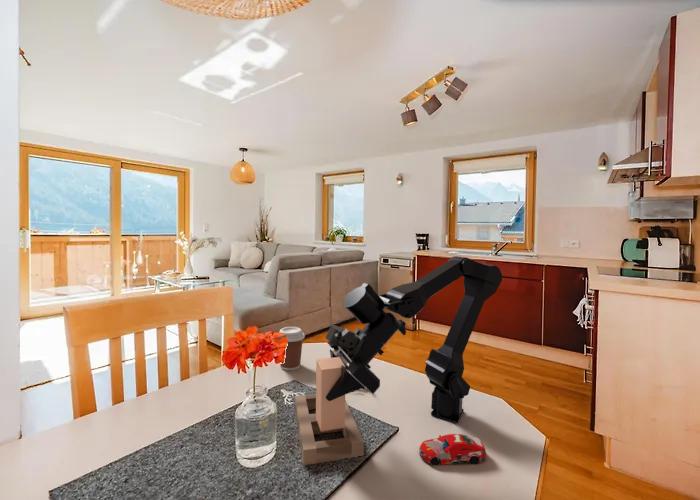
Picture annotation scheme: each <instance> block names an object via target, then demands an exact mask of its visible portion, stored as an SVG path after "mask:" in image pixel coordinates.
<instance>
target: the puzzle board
mask: <svg viewBox="0 0 700 500" xmlns="http://www.w3.org/2000/svg"><path fill="white" fill-rule="evenodd" d="M313 409H314V410H313ZM315 409H316V393H311V394H310V393H309V394H301V395H295V396H294V412H295V417H296V423H297V424H296V425H297V433H298V438H299V446H300V451H301V458H302V459H301V460H302V465H303V466H306V465H313V464H315V465H316V464H320V463H327V462H333V461H340V459H342V460H346V459H345V458H349V459H352V458H351V457H355V458H357V457H356V456H362V457H364V456H365V454H364V453H365V451H364V450H365V441H364V439H363V436H362V435H361V432H360V430H359V427H358V425H357V423H356V420H355V418H354V416H353V413H352V412H351V410H350V407H349V405H348V402H347V400H346V399H345V428H339V429H333V430H328V431H322V432H321V430H320V428H319V425H318V422H317V419H316V413H309V411H316V410H315ZM339 432H341V433H342V436H343V437H342V438H335V439H327V440H319V441H316V440H315V435H320V434H330V433H339ZM363 455H364V456H363Z"/></svg>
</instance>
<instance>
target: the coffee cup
mask: <svg viewBox="0 0 700 500" xmlns="http://www.w3.org/2000/svg"><path fill="white" fill-rule="evenodd" d="M278 333H284V334H285V335H286V337H287V338H288V346H287V349H286V358H285V363H284V364H280V363H279V366H280V369H281V370H285V371H294V370H297V369H299V368H301V363H302V362H301V361H302V352H303V351H302V350H303V340H304V339H305V337H306V335H305V333H304V332H303V331H302V329H301V328H300V327H298V326H297V327H296V326H285V327H283V328H281V329H279V332H278ZM282 338H283V337H282Z"/></svg>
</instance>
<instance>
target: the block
mask: <svg viewBox="0 0 700 500" xmlns="http://www.w3.org/2000/svg"><path fill="white" fill-rule="evenodd" d="M315 365H316V366H315V376H316V377H315V387H316V388H315V394H316V410H315V414H316V419H317V422H318V425H319V428H320V430H321V432H322V431H328V430H333V429H339V428H345V400H346V394H345V395H343V396H341V397H338V398H336V399H334V400H331V401H328V400H327V399H326V396H327V394H328V393H329V391H330V390H331V388H332V387H333V386H334V384H335V383H336V382H337V380H338V379H339V377H340V376H341V367H342V365H343V366H344V367H345V368H346V366H345V365H344V363H343V362H342V361H341V359H340V358H339V357H334V358H331V357H326V358H319V359H318V358H317V359H316V364H315Z"/></svg>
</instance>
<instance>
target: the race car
mask: <svg viewBox="0 0 700 500" xmlns="http://www.w3.org/2000/svg"><path fill="white" fill-rule="evenodd" d="M418 451H419V452H418V454H419V456H420V458H421V459H422V460H423V461H424V462H425V463H427V464H429V465H431V466H433V467H434V466H440V465H442V466H444V465H467V464H470V465H478V464H479V463H483V462H485V461H486V460H487V451H486V448H485V445H484V443H483V442H482V441H481V440H480V439H479V438H478V437H475V436H471V435H468V434H463V433H461V434H460V433H449V434H444V435H441V434H439V436H438V437H437V438H433V439H432V438H429V439H426V440H424V441H422V443H421V444H420V445H419V448H418Z"/></svg>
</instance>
